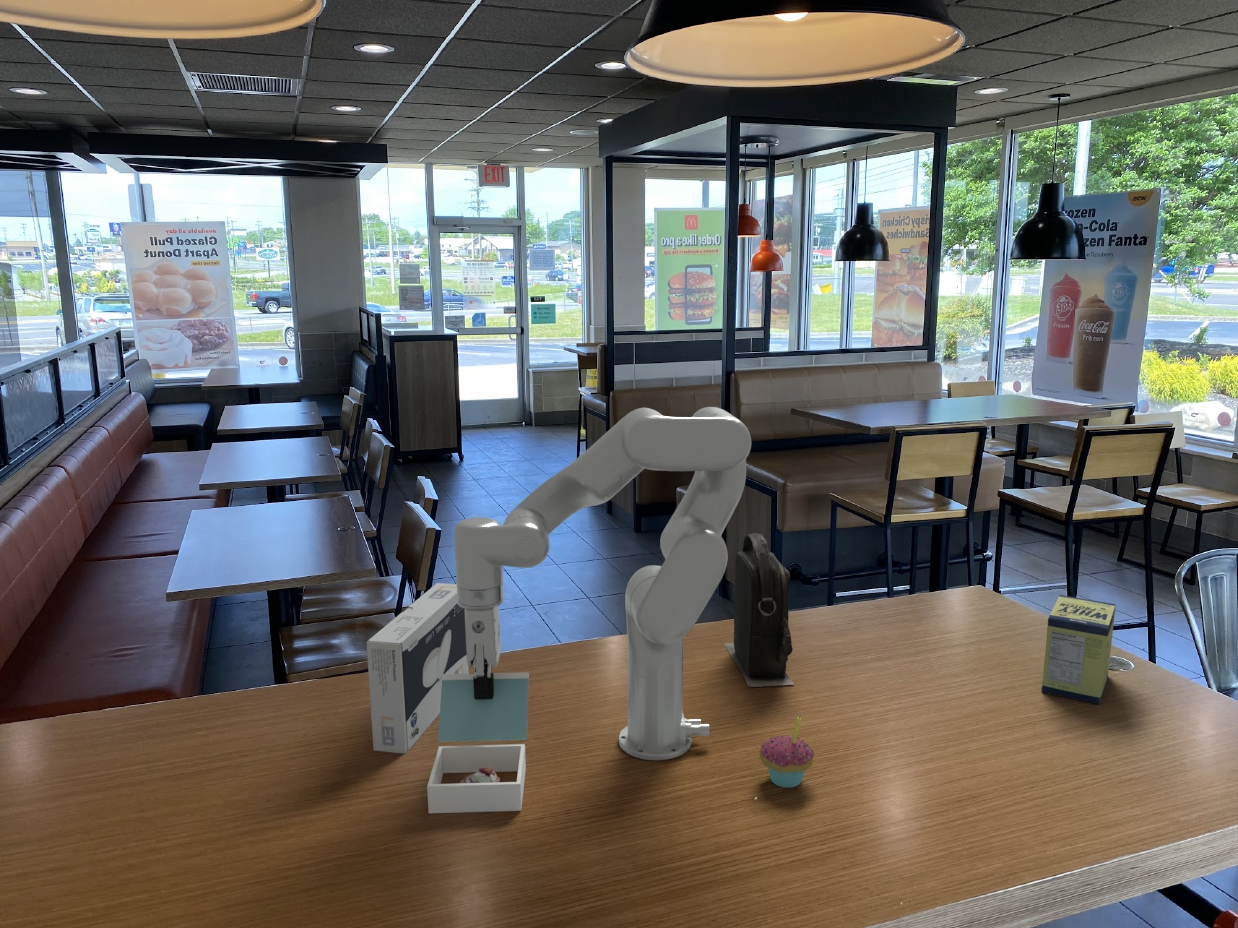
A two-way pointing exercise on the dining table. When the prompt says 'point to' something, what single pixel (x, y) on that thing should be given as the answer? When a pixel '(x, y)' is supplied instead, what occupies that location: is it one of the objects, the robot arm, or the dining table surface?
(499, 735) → the lid
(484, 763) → the box
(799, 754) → the cupcake
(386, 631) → the packaging
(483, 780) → the pastry
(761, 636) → the shoulder bag
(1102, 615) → the protein box
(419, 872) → the dining table surface
